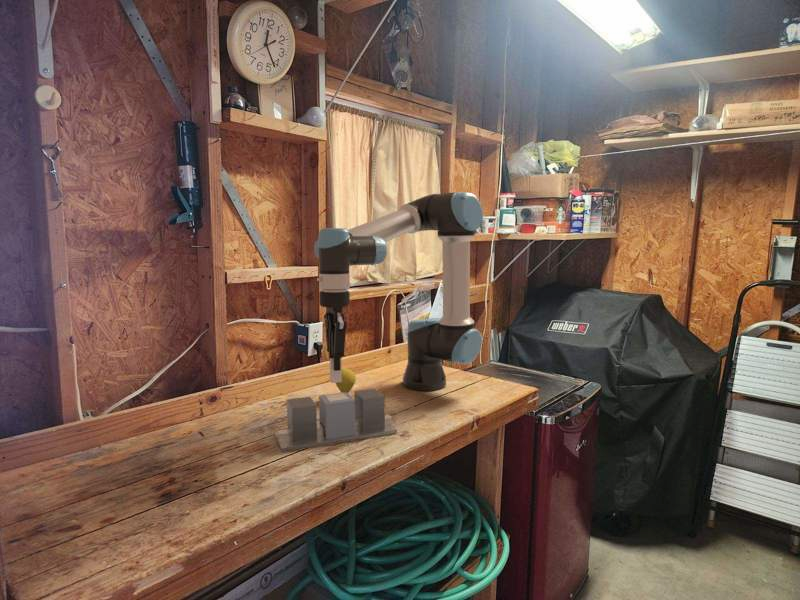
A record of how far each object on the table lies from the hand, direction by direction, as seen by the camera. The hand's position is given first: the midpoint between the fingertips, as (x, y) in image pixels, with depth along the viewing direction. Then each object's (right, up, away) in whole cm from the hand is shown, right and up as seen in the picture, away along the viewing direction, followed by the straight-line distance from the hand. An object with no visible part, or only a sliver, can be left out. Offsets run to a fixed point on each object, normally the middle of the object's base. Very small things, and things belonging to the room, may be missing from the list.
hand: (335, 381), depth 127 cm
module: (0, -13, +2) cm, 13 cm away
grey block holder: (0, -14, +2) cm, 14 cm away
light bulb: (-1, -11, +30) cm, 31 cm away
